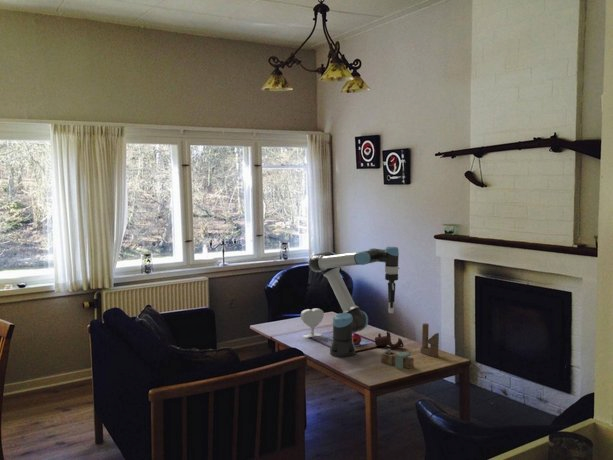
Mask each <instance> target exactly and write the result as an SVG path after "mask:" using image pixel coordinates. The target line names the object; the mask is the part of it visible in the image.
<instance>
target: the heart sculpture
mask: <svg viewBox="0 0 613 460" xmlns="http://www.w3.org/2000/svg"><path fill="white" fill-rule="evenodd" d="M324 315H325V314H324V311H323V310H322V309H320V308H318V307H317V308H316V307H315V308H312V309H309V308H307V309H304V310H302V311H301V312H300V320H301V321H302V323H303V324H305V325H306V326H307V327H310V334H306V335H304V334H303V335H302V338H307V339H308V338H311V337H312V338H313V337H319V336H321V337H322V334H321V333H315V328H316V327H317V326H319V325H320V323H322V321H323V319H324Z"/></svg>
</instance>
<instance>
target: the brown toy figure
mask: <svg viewBox="0 0 613 460" xmlns="http://www.w3.org/2000/svg"><path fill="white" fill-rule="evenodd" d="M374 343H375V346H376V347H381V346H388V347H390V349H398V348H400V349H401V348H404V344H405V343H403V341H402V339H401V338H399V337H398V339H397V342H396V343H392V337H391V332H389V331H386V335H384V336H382V334H381V333H378V334H377V337H375V338H374Z"/></svg>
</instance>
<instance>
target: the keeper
mask: <svg viewBox="0 0 613 460" xmlns="http://www.w3.org/2000/svg"><path fill="white" fill-rule="evenodd" d="M397 353H398V354H396V355H395V365H394V367H395V368H396V369H399V370H403V369H404V367H403V358H405V357H411V356H412V353H410V352H407V351H402V352H397Z"/></svg>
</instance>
